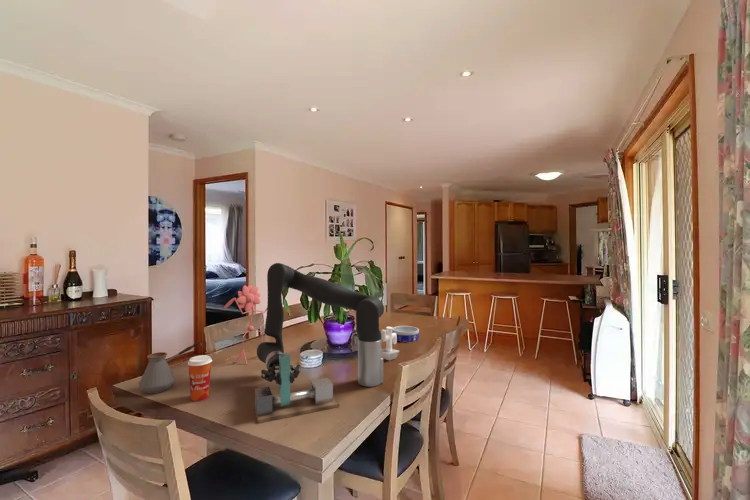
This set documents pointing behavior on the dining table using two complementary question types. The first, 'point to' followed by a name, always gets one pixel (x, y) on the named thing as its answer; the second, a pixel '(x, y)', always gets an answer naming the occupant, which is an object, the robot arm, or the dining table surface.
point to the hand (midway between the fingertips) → (286, 381)
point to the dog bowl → (406, 333)
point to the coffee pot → (159, 372)
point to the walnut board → (296, 409)
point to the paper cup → (199, 377)
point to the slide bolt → (288, 385)
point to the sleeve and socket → (320, 385)
